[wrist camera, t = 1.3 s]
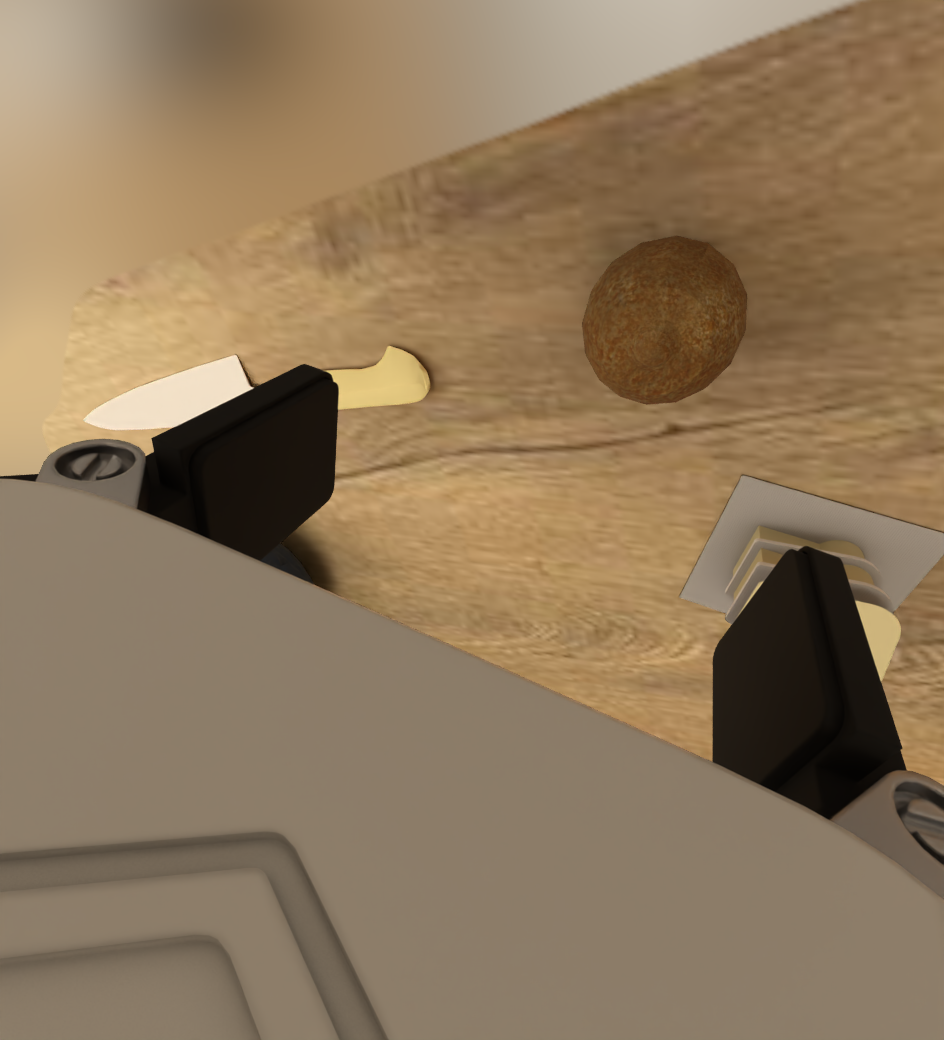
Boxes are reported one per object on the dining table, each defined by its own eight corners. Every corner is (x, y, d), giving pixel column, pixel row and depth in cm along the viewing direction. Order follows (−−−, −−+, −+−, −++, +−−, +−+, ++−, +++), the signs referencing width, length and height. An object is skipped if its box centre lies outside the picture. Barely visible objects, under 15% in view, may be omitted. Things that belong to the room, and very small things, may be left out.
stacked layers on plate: (679, 596, 33) (673, 661, 29) (742, 474, 28) (746, 532, 24) (853, 656, 31) (875, 736, 27) (958, 537, 26) (1005, 613, 21)
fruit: (574, 297, 26) (528, 341, 20) (687, 190, 22) (674, 203, 16) (653, 393, 27) (634, 463, 21) (774, 306, 23) (794, 361, 17)
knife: (62, 388, 43) (83, 443, 45) (412, 319, 29) (428, 402, 30) (77, 386, 44) (98, 439, 46) (423, 318, 30) (438, 398, 32)
